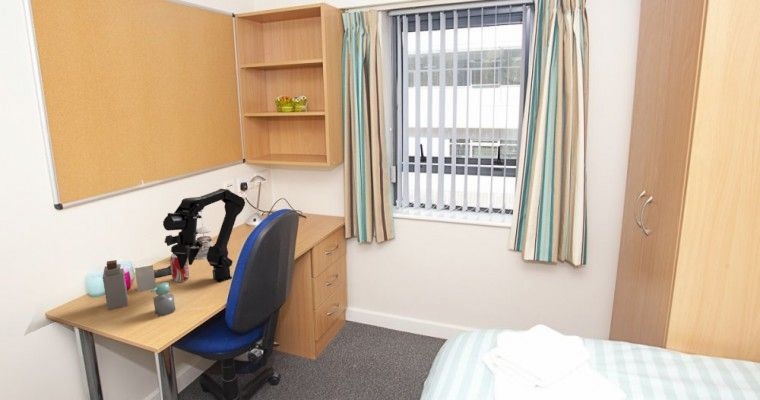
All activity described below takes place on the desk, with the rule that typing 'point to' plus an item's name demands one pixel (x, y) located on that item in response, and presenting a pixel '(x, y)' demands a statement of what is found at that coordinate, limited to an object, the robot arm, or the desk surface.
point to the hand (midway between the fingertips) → (186, 266)
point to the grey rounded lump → (164, 304)
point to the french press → (206, 244)
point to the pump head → (161, 289)
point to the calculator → (162, 272)
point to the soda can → (178, 270)
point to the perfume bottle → (115, 285)
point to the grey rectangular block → (145, 278)
